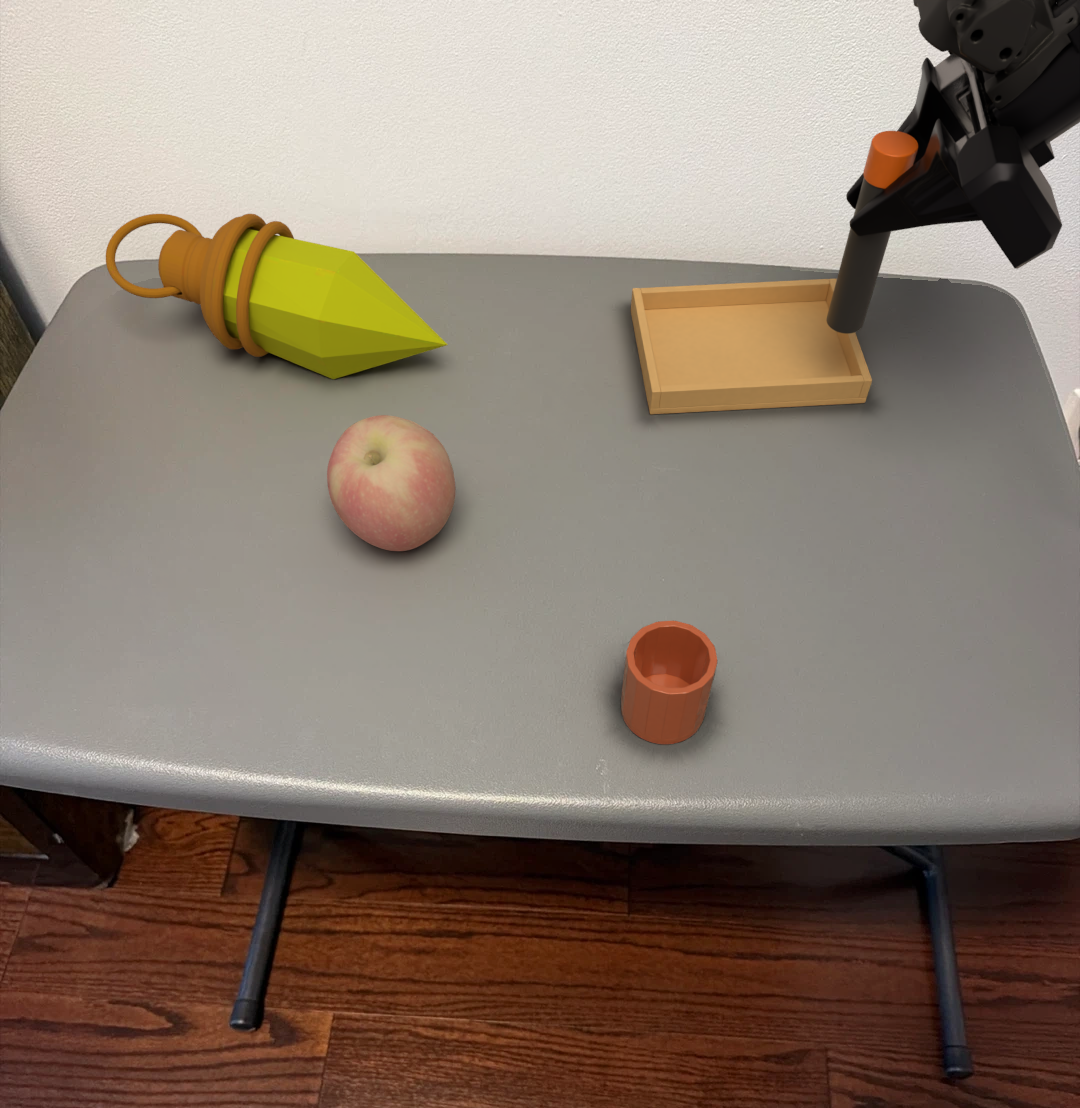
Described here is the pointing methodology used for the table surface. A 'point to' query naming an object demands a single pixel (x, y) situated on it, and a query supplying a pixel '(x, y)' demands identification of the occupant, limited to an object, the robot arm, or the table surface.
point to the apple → (391, 482)
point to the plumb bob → (283, 295)
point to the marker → (866, 252)
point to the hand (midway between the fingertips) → (851, 215)
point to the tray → (745, 347)
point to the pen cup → (667, 681)
